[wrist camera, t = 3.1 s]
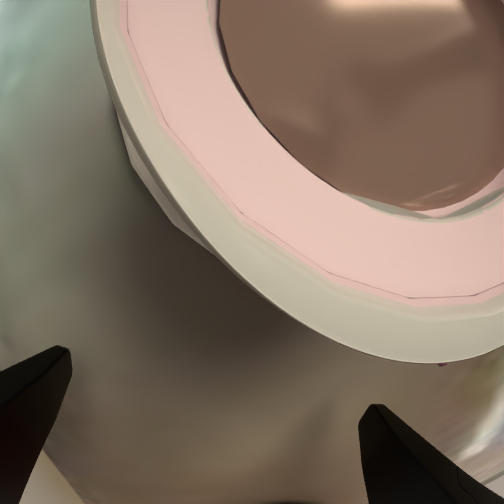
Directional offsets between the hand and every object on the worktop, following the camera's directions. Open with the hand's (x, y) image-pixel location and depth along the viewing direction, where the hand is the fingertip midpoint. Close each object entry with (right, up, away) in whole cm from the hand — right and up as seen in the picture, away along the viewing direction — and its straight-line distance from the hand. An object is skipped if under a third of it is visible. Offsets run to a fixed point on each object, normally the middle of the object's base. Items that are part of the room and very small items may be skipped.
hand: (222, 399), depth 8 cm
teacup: (+3, +9, 0) cm, 9 cm away
